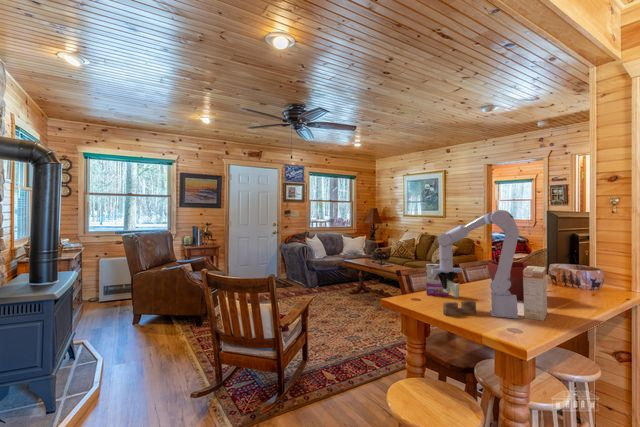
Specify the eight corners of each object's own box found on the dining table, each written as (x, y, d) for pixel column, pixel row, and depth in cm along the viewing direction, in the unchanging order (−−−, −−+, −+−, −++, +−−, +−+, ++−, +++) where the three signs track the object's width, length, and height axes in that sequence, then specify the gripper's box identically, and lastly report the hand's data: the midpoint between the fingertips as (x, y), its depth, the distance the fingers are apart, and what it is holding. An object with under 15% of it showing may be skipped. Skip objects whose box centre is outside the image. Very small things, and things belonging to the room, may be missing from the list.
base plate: (473, 312, 142) (472, 300, 142) (476, 313, 140) (475, 301, 140) (443, 314, 139) (443, 302, 139) (446, 315, 137) (445, 303, 137)
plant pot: (547, 302, 157) (546, 267, 157) (507, 302, 157) (506, 267, 157) (523, 293, 176) (522, 261, 176) (487, 293, 176) (486, 262, 176)
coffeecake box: (528, 309, 145) (527, 265, 145) (548, 312, 140) (546, 266, 140) (523, 318, 133) (522, 270, 133) (544, 321, 129) (543, 271, 129)
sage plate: (443, 291, 153) (443, 279, 153) (446, 290, 153) (446, 279, 153) (455, 297, 143) (455, 284, 143) (459, 296, 143) (459, 284, 143)
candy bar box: (448, 294, 175) (447, 263, 176) (448, 296, 171) (448, 265, 171) (426, 293, 179) (425, 263, 179) (426, 295, 174) (425, 264, 174)
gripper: (455, 257, 157) (456, 286, 157) (427, 258, 155) (428, 287, 154) (464, 259, 150) (465, 289, 150) (435, 260, 148) (435, 290, 147)
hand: (446, 288), depth 152 cm, fingers closed on sage plate, 2 cm apart
